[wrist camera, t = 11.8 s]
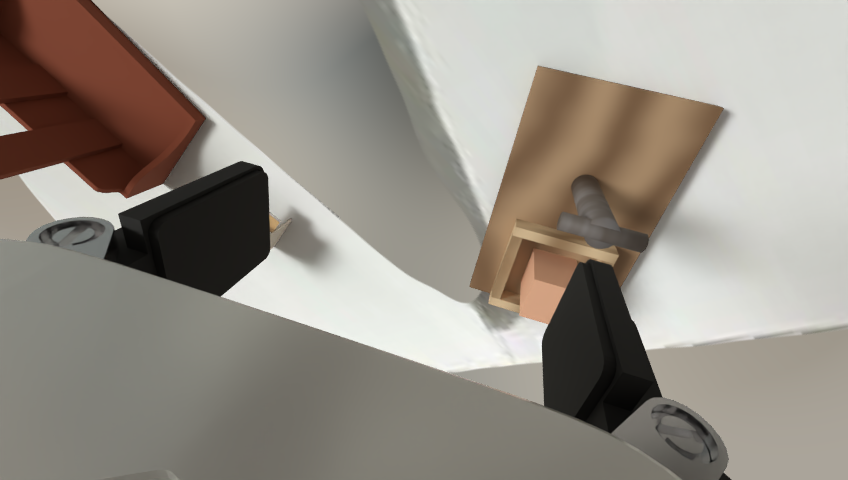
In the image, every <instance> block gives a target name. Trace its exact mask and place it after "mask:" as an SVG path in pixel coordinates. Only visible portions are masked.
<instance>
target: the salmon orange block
mask: <svg viewBox="0 0 848 480" xmlns="http://www.w3.org/2000/svg"><path fill="white" fill-rule="evenodd" d="M576 266H577V260H576V259H572V258H568V257H565V256H561V255H557V254H554V253H550V252H547V251H543V250H539V249H536V248H534V249H533V251H532V254H531V256H530V259H529V262H528V264H527V267H526V269H525V272H524V274H523V277H522V280H521V289H520V316H523V317H526V318H529V319H533V320H536V321H539V322H543V323H546V324H549V322H550V320H551V318H552V316H553V314H554V312H555V310H556V308H557V306H558V304H559V302H560V300H561V298H562V295H563V293H564V291H565V289H566V287H567V285H568V283H569V281H570V279H571V277H572V275H573V273H574V271H575V268H576Z"/></svg>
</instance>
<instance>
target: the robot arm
mask: <svg viewBox="0 0 848 480" xmlns="http://www.w3.org/2000/svg"><path fill="white" fill-rule="evenodd" d="M118 215H119V219H120V222H121V226H122V228H119V229H117V230H114V226H113V225H112V224H111V223H110V222H109V221H106V220H104V219H100V218H94V217H77V218H67V219H63V220H58V221H54V222H52V223H48V224H46V225H43V226H41V227H40V228H38V229H36V230H35V231H33V232H32V233H31V234H30V235H29V237H28V238H27V240H26V241H20V240H9V239H0V480H731V479H730V478H729V477H728V476H727V475H726V474H724V473H723V472H724V471H725V469H726V467H727V463H728V460H729V458H728V454H727V450H726V447H725V445H724V443H723V441H722V440H721V438H720V436H719V435H718V434H717V433H716V431H715V430H714V429H713V428H712V426H711V425H710V424H708V422H707V421H705V420H704V419H703V418H702V417H701V416H700V415H699V414H697V413H696V412H694V411H693V410H691V409H690V408H688V407H687V406H685V405H683V404H680V403H678V402H676V401H674V400H671V399H667V398H663V397H662V395H661V392H660V389H659V387H658V384H657V381H656V379H655V376H654V373H653V370H652V368H651V365H650V362H649V360H648V357H647V354H646V351H645V348H644V346H643V343H642V340H641V338H640V335H639V332H638V329H637V327H636V325H635V323H634V321H632V320H631V317H630V314H629V311H628V308H627V306H626V303H625V300H624V297H623V295H622V292H621V289H620V286H619V283H618V281H617V278H616V275H615V272H614V269H613V267H612V265H610V264H606V263H602V262H599V261H595V260H592V259H589V260H587V261H586V263H583V262H579V263H578V265H577V266H576V268H575V271H574V273H573V275H572V277H571V279H570V281H569V283H568V285H567V287H566V289H565V291H564V293H563V295H562V298H561V300H560V302H559V304H558V306H557V308H556V310H555V312H554V314H553V316H552V318H551V320H550V322H549V325H548V327H547V329H546V331H545V333H544V336H543V340H542V361H543V386H544V406H543V405H540V404H537V403H535V402H532V401H529V400H527V399H524V398H521V397H518V396H516V395H512V394H510V393H506V392H504V391H501V390H498V389H495V388H492V387H489V386H486V385H483V384H480V383H477V382H474V381H471V380H468V379H465V378H462V377H459V376H456V375H454V374H450V373H448V372H445V371H442V370H439V369H436V368H433V367H430V366H427V365H424V364H421V363H418V362H415V361H412V360H409V359H406V358H403V357H400V356H397V355H394V354H391V353H388V352H385V351H382V350H379V349H376V348H373V347H370V346H367V345H364V344H361V343H358V342H355V341H352V340H349V339H346V338H343V337H340V336H337V335H334V334H331V333H328V332H325V331H322V330H319V329H316V328H313V327H310V326H307V325H304V324H301V323H298V322H295V321H292V320H289V319H286V318H283V317H280V316H277V315H274V314H271V313H268V312H265V311H262V310H259V309H256V308H253V307H250V306H247V305H244V304H241V303H238V302H235V301H232V300H229V299H226V298H223V297H221V296H222V295H223V294H224V293H225V292H227V291H228V290H229V289H230V288H231V287H233V286H234V285H235V284H236V283H237V282H238V281H240V280H241V279H242V278H243V277H244V276H246V275H247V274H248V273H249V272H250V271H252V270H253V269H254V268H255V267H256V266H257V265H259V264H260V263H261V262H262V261H263V260H265V259H266V258H267V256H268V255H269V252H270V219H269V190H268V176H267V174H266V173H265V172H264V170H263V168H262V167H261V166H257V165H254V164H250V163H247V162H243V161H240V162H237V163H235V164H233V165H230V166H228V167H226V168H223V169H221V170H219V171H217V172H214V173H212V174H210V175H207V176H205V177H203V178H200V179H198V180H196V181H193V182H191V183H189V184H186V185H184V186H182V187H179V188H177V189H175V190H172V191H170V192H168V193H165V194H163V195H161V196H158V197H156V198H154V199H151V200H149V201H147V202H144V203H142V204H140V205H138V206H135V207H133V208H131V209H128V210H126V211H124V212H121V213H119V214H118Z"/></svg>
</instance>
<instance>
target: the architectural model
mask: <svg viewBox="0 0 848 480" xmlns="http://www.w3.org/2000/svg"><path fill="white" fill-rule="evenodd" d="M285 173H286V172H285ZM286 174H287V173H286ZM291 178H292V177H291ZM292 179H293V178H292ZM293 180H294V179H293ZM296 182H297V181H296ZM297 183H298V182H297ZM298 184H299V183H298ZM299 185H300V184H299ZM300 186H301V185H300ZM302 187H303V186H302ZM303 188H304V187H303ZM304 189H305V188H304ZM305 190H306V189H305ZM306 191H307V190H306ZM308 192H309V191H308ZM309 193H310V192H309ZM310 194H311V193H310ZM311 195H312V194H311ZM312 196H313V197H314V198H316V197H315V196H314V195H312ZM316 199H317V198H316ZM317 200H318V199H317ZM318 201H319V202H320V203H321V204H322V205H323V206H325V207H326V208H327V209H328V210H329V211H330V212H331V213H333V214H334V215H335V216H336V217H337V218H338V219H341V218H340V217H339V216H338V215H337V214H335V213H334V212H333V211H332V210H330V209H329V208H328V207H327V206H326V205H324V204H323V203H322V202H321V201H320V200H318ZM269 219H270V232H271V234H270V249H272V248H273V247H274V246H275V245H276V243H277V242H278V240H279V239H280V237H281V236H282V234H283V233H284V231H285V230H286V228H287V227H288V225H289V224H290V222H291V221H292V219H290V220H288V221H287V222H286V223H284V224H283V225H282V226H280V227H279V228H278V229H277V227H278V225H279V224H280V222H281V221H280V220H279V219H278V218H277V217H275V216H274V215H273V214H272V213H270V212H269Z"/></svg>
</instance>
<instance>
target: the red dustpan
mask: <svg viewBox="0 0 848 480" xmlns="http://www.w3.org/2000/svg"><path fill="white" fill-rule="evenodd" d="M0 106H1V107H2V108H4V109H5V110H6V111H7V112H8V113H9V114H10V115H11V116H12V117H14V118H15V119H16V120H17V121H18V122H19V123H20V124H21V125H22V126H24V127H25V128H26V129H27V130H28V131H25V132H19V133H14V134H9V135H4V136H0V179H4V178H8V177H11V176H15V175H19V174H23V173H26V172H30V171H34V170H37V169H41V168H45V167H49V166H52V165H56V164H60V163H63V162H64V163H65V164H66V165H67V166H68V167H69V168H70V169H72V170H73V171H74V172H75V173H76V174H77V175H78V176H79V177H80V178H82V179H83V180H84V181H85V182H86V183H87V184H88V185H89V186H90V187H92V188H93V189H94V190H95V191H97V192H102V193H111V192H119V193H121V194H122V195H123V196H124V197H125V198H126V199H127V198H129V197H132V196H134V195H136V194H139V193H141V192H144V191H146V190H149V189H151V188H154V187H156V186H159V185H161V184H163V183H164V181H165V180H166V178H167V177H168V175H169V174H170V172H171V171H172V169H173V168H174V166H175V165H176V163H177V162H178V160H179V159H180V157H181V155H182V154H183V152H184V151H185V149H186V148H187V146H188V145H189V143H190V142H191V140H192V139H193V137H194V136H195V134H196V133H197V131H198V130H199V128H200V127H201V125H202V123H203V122H204V120H205V119H206V118H205V117H204V116H203V115H202V114H201V113H200V112H199V111H198V110H197V109H196V108H195V107H194V106H193V105H192V104H191V103H190V102H189V101H188V100H187V99H186V97H185V96H184V95H183V94H182V93H181V92H180V91H179V90H178V89H177V88H176V87H175V86H174V85H173V84H172V83H171V82H170V81H169V80H168V79H167V78H166V77H165V76H164V75H163V74H162V73H161V72H160V71H159V70H158V69H157V68H156V67H155V66H154V65H153V64H152V63H151V62H150V61H149V60H148V59H147V58H146V57H145V56H144V55H143V54H142V53H141V52H140V51H139V50H138V49H137V47H136V46H135V45H134V44H133V43H132V42H131V41H130V40H129V39H128V38H127V37H126V36H125V35H124V34H123V33H122V32H121V31H120V30H119V29H118V28H117V27H116V26H115V25H114V24H113V23H112V22H111V21H110V20H109V19H108V18H107V17H106V16H105V15H104V14H103V13H102V11H101V10H100V8H99V7H98V6H97V5H95V3H93V1H92V0H0Z"/></svg>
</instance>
